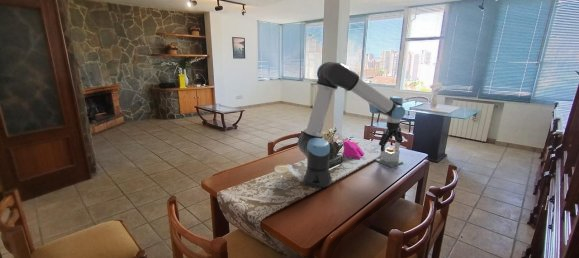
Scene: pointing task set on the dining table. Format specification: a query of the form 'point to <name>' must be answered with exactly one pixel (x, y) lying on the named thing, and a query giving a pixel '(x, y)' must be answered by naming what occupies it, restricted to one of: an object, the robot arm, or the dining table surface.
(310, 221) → the dining table surface
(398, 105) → the robot arm
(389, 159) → the white hollow square block
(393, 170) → the dining table surface
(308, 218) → the dining table surface
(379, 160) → the keeper
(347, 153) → the magenta faceted rock
